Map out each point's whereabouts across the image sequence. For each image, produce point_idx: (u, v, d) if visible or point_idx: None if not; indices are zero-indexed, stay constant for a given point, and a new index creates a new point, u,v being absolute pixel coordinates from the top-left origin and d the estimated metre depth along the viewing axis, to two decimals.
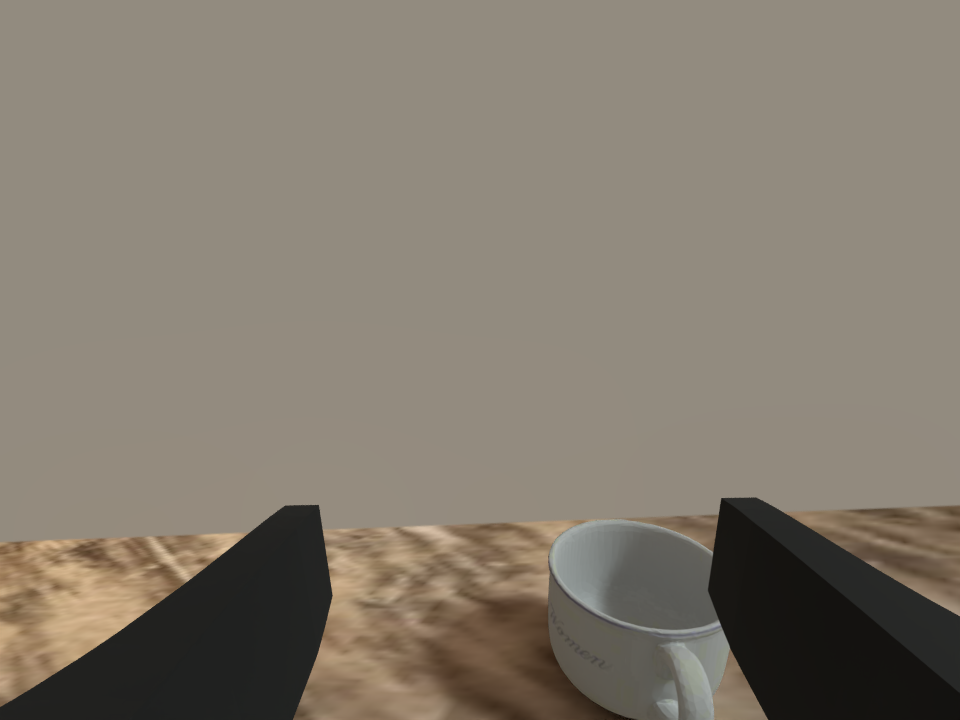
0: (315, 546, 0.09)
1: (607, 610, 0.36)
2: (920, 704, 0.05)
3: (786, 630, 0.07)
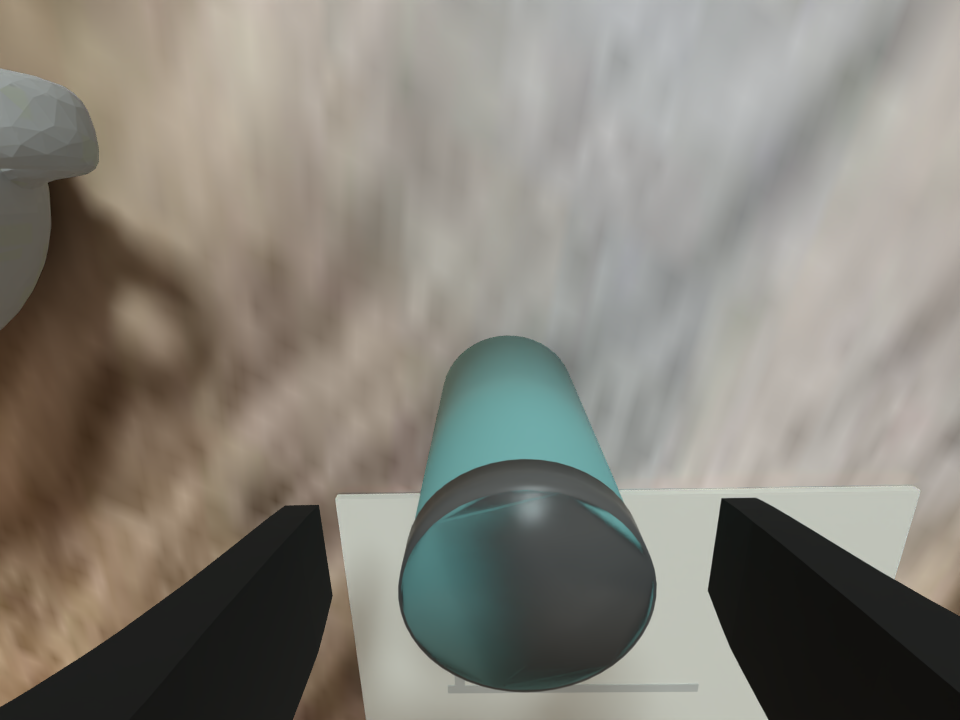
0: (315, 546, 0.09)
1: None
2: (919, 704, 0.05)
3: (786, 630, 0.07)
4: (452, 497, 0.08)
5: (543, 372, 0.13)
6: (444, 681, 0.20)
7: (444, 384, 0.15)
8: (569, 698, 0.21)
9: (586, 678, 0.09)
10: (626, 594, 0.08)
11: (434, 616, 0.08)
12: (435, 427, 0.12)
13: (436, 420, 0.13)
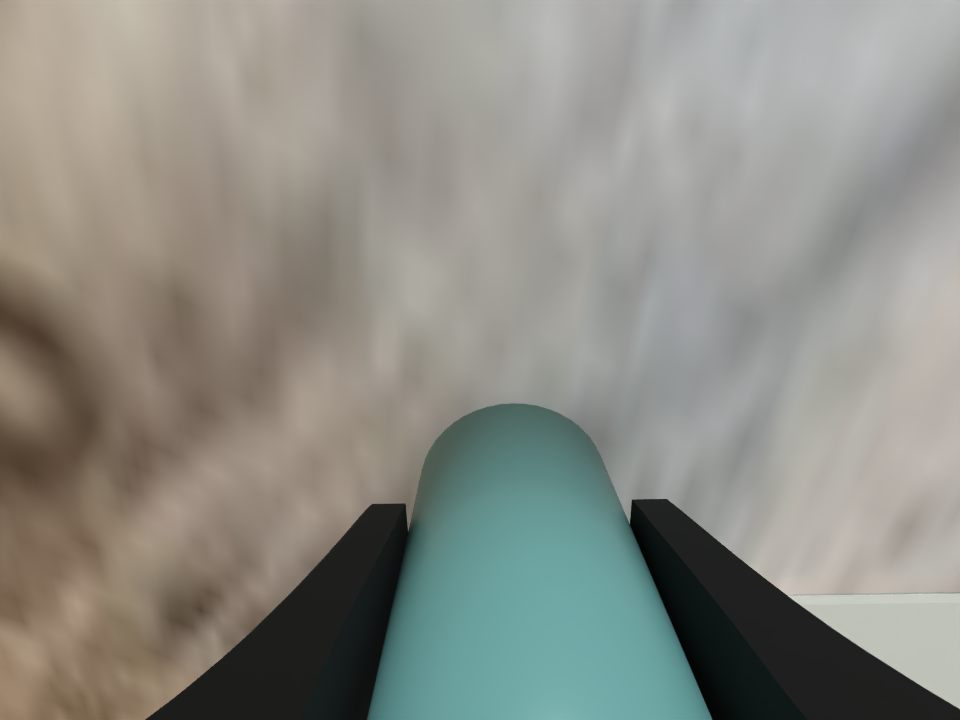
0: (404, 545, 0.09)
1: None
2: (761, 705, 0.05)
3: (675, 631, 0.07)
4: None
5: (573, 483, 0.08)
6: None
7: (421, 474, 0.10)
8: None
9: None
10: None
11: None
12: (399, 577, 0.08)
13: (404, 553, 0.08)
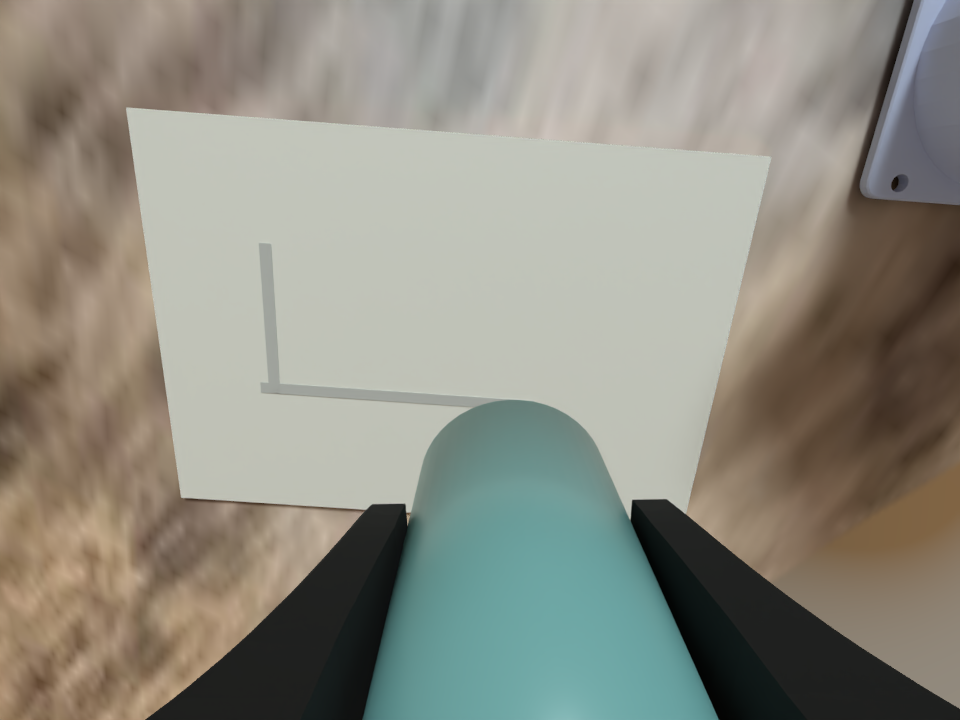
0: None
1: None
2: (761, 705, 0.05)
3: None
4: None
5: (567, 473, 0.08)
6: (257, 376, 0.19)
7: (420, 474, 0.10)
8: (395, 410, 0.19)
9: None
10: None
11: None
12: (397, 573, 0.08)
13: (402, 550, 0.08)
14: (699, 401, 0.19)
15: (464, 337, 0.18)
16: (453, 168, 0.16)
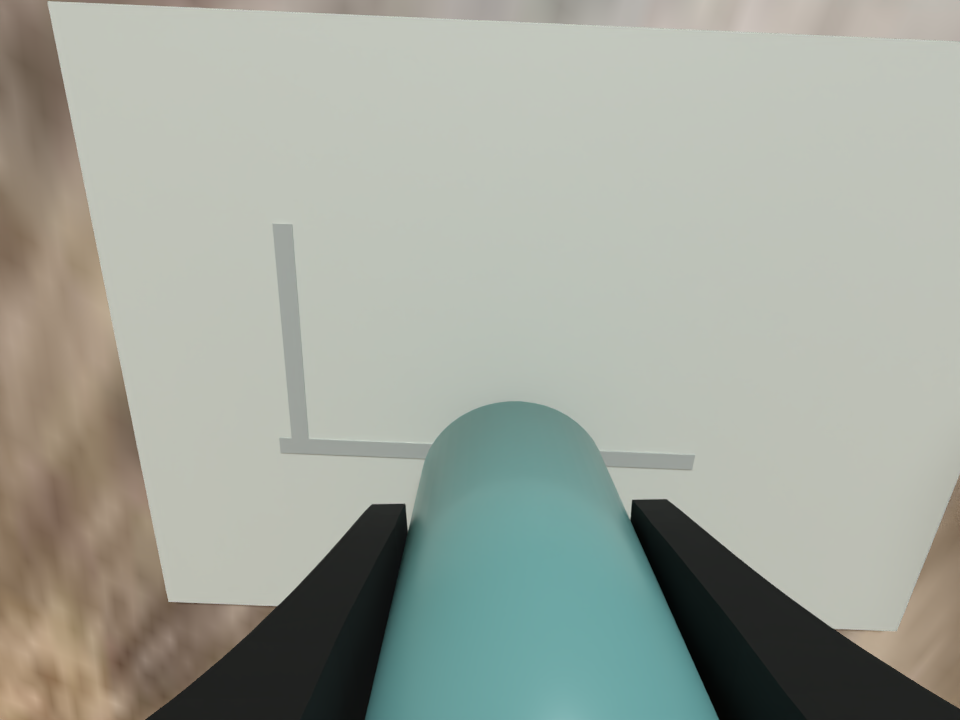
0: (404, 545, 0.09)
1: None
2: (761, 705, 0.05)
3: None
4: None
5: (568, 474, 0.08)
6: (274, 429, 0.12)
7: (421, 475, 0.10)
8: None
9: None
10: None
11: None
12: (398, 574, 0.08)
13: (403, 552, 0.08)
14: (949, 449, 0.12)
15: (593, 362, 0.12)
16: (590, 88, 0.10)
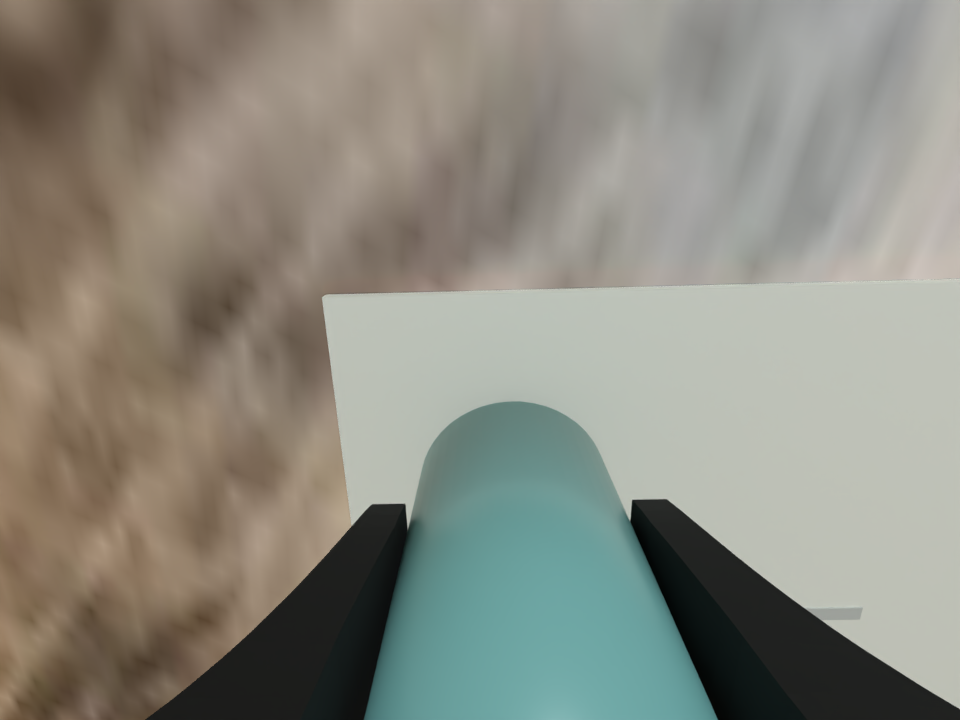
0: (403, 545, 0.09)
1: None
2: (761, 705, 0.05)
3: None
4: None
5: (567, 475, 0.08)
6: None
7: (420, 476, 0.10)
8: None
9: None
10: None
11: None
12: (397, 575, 0.08)
13: None
14: None
15: (774, 539, 0.13)
16: (783, 332, 0.11)
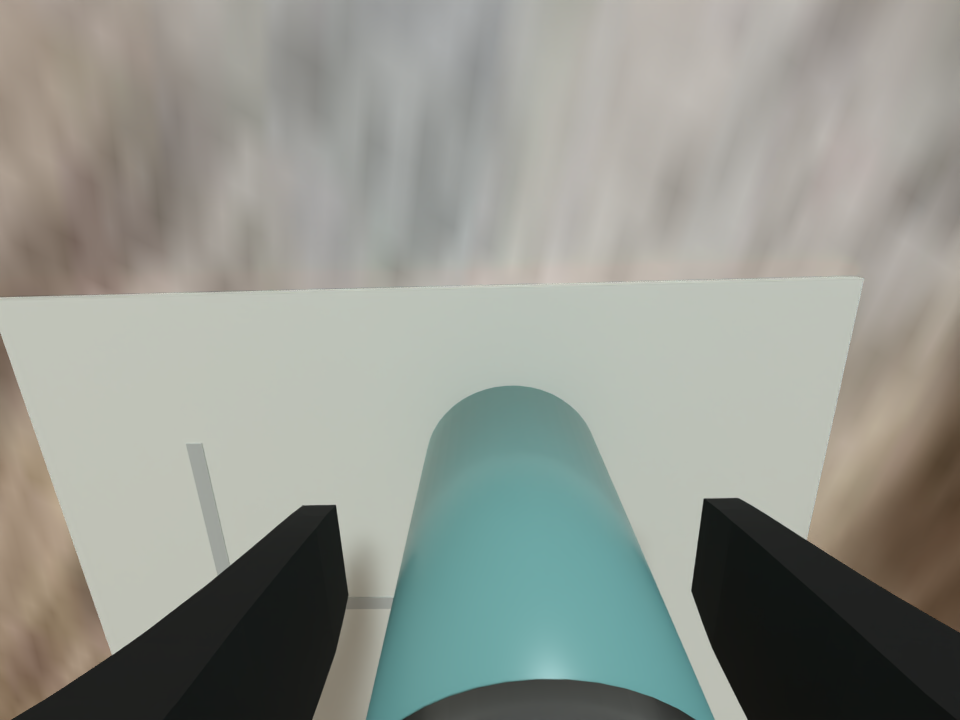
0: (333, 546, 0.09)
1: None
2: (888, 704, 0.05)
3: (764, 630, 0.07)
4: None
5: (559, 448, 0.09)
6: None
7: (426, 454, 0.11)
8: (386, 617, 0.15)
9: None
10: None
11: None
12: (407, 537, 0.08)
13: (411, 519, 0.09)
14: None
15: None
16: (427, 333, 0.12)
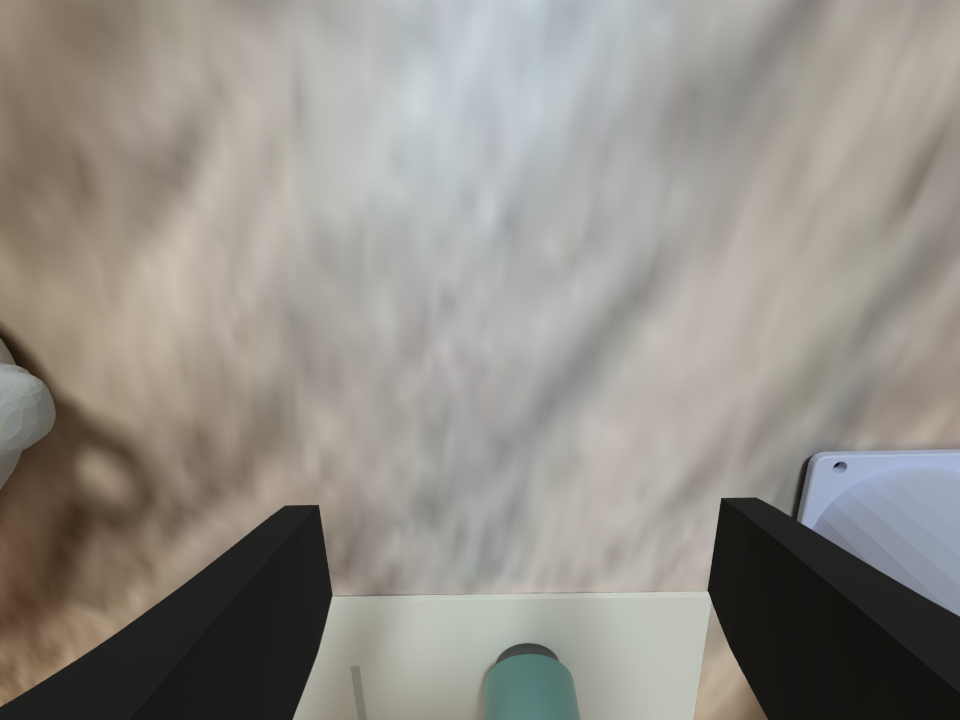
0: (315, 547, 0.09)
1: None
2: (920, 704, 0.05)
3: (786, 630, 0.07)
4: None
5: (553, 717, 0.20)
6: None
7: (486, 689, 0.22)
8: None
9: None
10: None
11: None
12: None
13: None
14: None
15: None
16: (485, 618, 0.23)
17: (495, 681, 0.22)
